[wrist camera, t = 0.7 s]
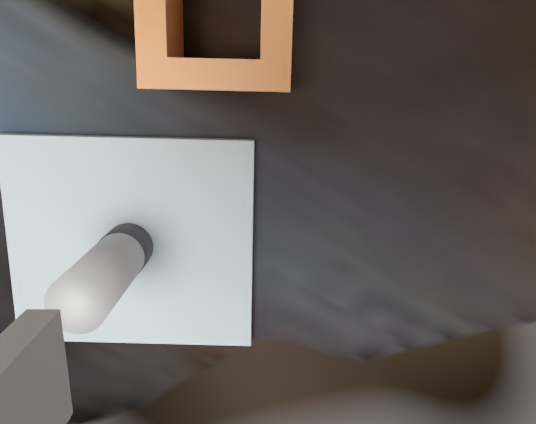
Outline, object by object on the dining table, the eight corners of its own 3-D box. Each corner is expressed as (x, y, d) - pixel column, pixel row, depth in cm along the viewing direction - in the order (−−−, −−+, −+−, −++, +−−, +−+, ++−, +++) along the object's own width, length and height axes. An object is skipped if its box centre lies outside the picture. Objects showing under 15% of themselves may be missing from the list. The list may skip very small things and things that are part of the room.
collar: (154, -54, 29) (130, -83, 24) (292, -51, 29) (296, -79, 24) (158, 88, 31) (137, 88, 26) (287, 91, 31) (290, 92, 26)
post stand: (3, 133, 31) (-118, 154, 22) (254, 139, 31) (246, 162, 22) (25, 333, 35) (-71, 428, 25) (251, 338, 35) (243, 436, 25)
